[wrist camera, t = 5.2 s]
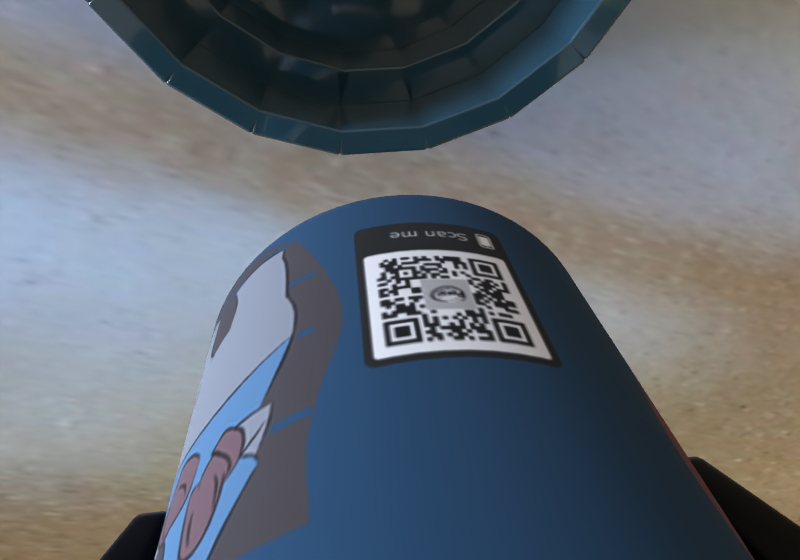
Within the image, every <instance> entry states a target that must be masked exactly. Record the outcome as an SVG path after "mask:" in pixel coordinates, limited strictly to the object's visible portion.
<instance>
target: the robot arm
mask: <svg viewBox="0 0 800 560" xmlns="http://www.w3.org/2000/svg"><path fill="white" fill-rule="evenodd" d="M688 458H689V460H690V461H691V463H692V464H693V466H694V467H695V469H696V471H697V472H698V474H699V475H700V477H701V478H702V480H703V481H704V483H705V484H706V486H707V487H708V489H709V491H710V492H711V494H712V495H713V497H714V498H715V500H716V501H717V503H718V504H719V506H720V507H721V509H722V511H723V512H724V514H725V515H726V517H727V518H728V520H729V521H730V523H731V524H732V526H733V527H734V529H735V531H736V532H737V534H738V535H739V537H740V538H741V540H742V541H743V543H744V544H745V546H746V547H747V549H748V551H749V552H750V554H751V555H752V557H753V558H754V560H800V526H798V525H797V524H795V523H794V522H793V521H791V520H790V519H788V518H787V517H785V516H784V515H782V514H781V513H780V512H778V511H777V510H775V509H774V508H772V507H771V506H769V505H768V504H767V503H765V502H764V501H762V500H761V499H759V498H758V497H756V496H755V495H754V494H752V493H751V492H749V491H748V490H746V489H745V488H744V487H742V486H741V485H739V484H738V483H736V482H735V481H733V480H732V479H731V478H729V477H728V476H726V475H725V474H723V473H722V472H720V471H719V470H718V469H716V468H715V467H713V466H712V465H710V464H709V463H707V462H706V461H705V460H703V459H701V458H699V457H688ZM166 513H167V512H165V511H160V512H151V513H142V514H139V515H138V516H136V517H135V518H134V519H133V520H132V521H131V522H130V524H129V525H128V526H127V527H126V528H125V530H124V531H123V532H122V533H121V535H120V536H119V537H118V538H117V539H116V541H115V542H114V543H113V544H112V545H111V547H110V548H109V549H108V550H107V552H106V553H105V554H104V555H103V556H102V558H101V559H100V560H154V559H155V555H156V551H157V548H158V544H159V540H160V536H161V532H162V528H163V525H164V521H165V517H166Z"/></svg>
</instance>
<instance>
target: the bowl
mask: <svg viewBox="0 0 800 560" xmlns="http://www.w3.org/2000/svg"><path fill="white" fill-rule="evenodd" d="M85 1H86V2H89V3H88V4H89V6H90V7H91V8H92V9H93V10H94V11H95V12H96V13H97V14H98V15H99V16H100V17H101V18H102V20H103V21H104V22H105V23H106V24H107V25H108V26H109V27H110V28H111V29H112V30H113V31H114V32H115V33H116V34H117V35H118V36H119V37H120V38H121V39H122V40H123V41H124V42H125V43H126V44H127V45H128V46H129V47H130V48H131V49H132V50H133V51H134V52H135V53H136V54H137V55H138V57H139V58H140V59H141V60H142V61H143V62H144V63H145V64H146V65H147V66H148V67H149V68H150V69H151V70H152V71H153V72H154V73H155V74H156V75H157V76H158V77H159V78H160V79H161V80H162V81H163V82H167V85H168V86H170V87H172V88H173V89H175V90H177V91H179V92H180V93H182V94H184V95H185V96H187V97H189V98H191V99H192V100H194V101H196V102H197V103H199V104H201V105H203V106H204V107H206V108H208V109H210V110H211V111H213V112H215V113H216V114H218V115H220V116H222V117H223V118H225V119H227V120H228V121H230V122H232V123H234V124H235V125H237V126H239V127H240V128H242V129H244V130H246V131H247V132H252V133H253V134H254V135H259V136H263V137H267V138H271V139H275V140H279V141H283V142H287V143H292V144H296V145H300V146H304V147H308V148H312V149H316V150H321V151H325V152H329V153H333V154H339V153H340V154H342V155H350V154H365V153H381V152H396V151H412V150H425V149H426V148H433V147H435V146H438V145H440V144H443V143H446V142H448V141H451V140H453V139H456V138H459V137H461V136H464V135H467V134H469V133H472V132H474V131H477V130H480V129H482V128H485V127H488V126H490V125H493V124H495V123H498V122H501V121H503V120H506V119H508V118H509V116H510V117H512V116H514V115H515V114H516V113H518V112H519V111H520V110H521V109H523V108H524V107H525V106H527V105H528V104H529V103H531V102H532V101H533V100H535V99H536V98H537V97H538V96H540V95H541V94H542V93H544V92H545V91H546V90H548V89H549V88H550V87H552V86H553V85H554V84H556V83H557V82H558V81H559V80H561V79H562V78H563V77H565V76H566V75H567V74H569V73H570V72H571V71H573V70H574V69H575V68H576V67H578V66H579V65H580V64H582V63H583V62H584V59H586V58H588V56H589V55H590V54H591V52H592V51H593V50H594V48H595V47H596V46H597V44H598V43H599V42H600V40H601V39H602V38H603V37H604V35H605V34H606V33H607V31H608V30H609V29H610V27H611V26H612V25H613V23H614V22H615V21H616V19H617V18H618V17H619V16H620V14H621V13H622V12H623V10H624V9H625V8H626V6H627V5H628V4H629V2H630V1H631V0H85Z"/></svg>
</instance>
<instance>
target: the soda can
mask: <svg viewBox="0 0 800 560" xmlns="http://www.w3.org/2000/svg"><path fill="white" fill-rule="evenodd" d="M154 560H754V558H753V557H752V555H751V554H750V552H749V551H748V549H747V547H746V546H745V544H744V543H743V541H742V540H741V538H740V537H739V535H738V534H737V532H736V531H735V529H734V527H733V526H732V524H731V523H730V521H729V520H728V518H727V517H726V515H725V514H724V512H723V511H722V509H721V507H720V506H719V504H718V503H717V501H716V500H715V498H714V497H713V495H712V494H711V492H710V491H709V489H708V487H707V486H706V484H705V483H704V481H703V480H702V478H701V477H700V475H699V474H698V472H697V471H696V469H695V467H694V466H693V464H692V463H691V461H690V460H689V458H688V457H687V455H686V454H685V452H684V451H683V449H682V447H681V446H680V444H679V443H678V441H677V440H676V438H675V437H674V435H673V434H672V432H671V431H670V429H669V427H668V426H667V424H666V423H665V421H664V420H663V418H662V417H661V415H660V414H659V412H658V411H657V409H656V407H655V406H654V404H653V403H652V401H651V400H650V398H649V397H648V395H647V394H646V392H645V391H644V389H643V387H642V386H641V384H640V383H639V381H638V380H637V378H636V377H635V375H634V374H633V372H632V371H631V369H630V367H629V366H628V364H627V363H626V361H625V360H624V358H623V357H622V355H621V354H620V352H619V351H618V349H617V347H616V346H615V344H614V343H613V341H612V340H611V338H610V337H609V335H608V334H607V332H606V330H605V329H604V327H603V326H602V324H601V323H600V321H599V320H598V318H597V317H596V315H595V314H594V312H593V310H592V309H591V307H590V306H589V304H588V303H587V301H586V300H585V298H584V297H583V295H582V294H581V292H580V290H579V289H578V287H577V286H576V284H575V283H574V281H573V280H572V278H571V277H570V275H569V274H568V272H567V270H566V269H565V267H564V266H563V265H562V264H561V262H560V261H559V260H558V258H557V257H556V256H555V255H554V254H553V253H552V252H551V251H550V249H549V248H548V247H547V246H545V245H544V244H543V243H542V242H541V241H540V240H539V239H538V238H537V237H535V236H534V235H533V234H531V233H530V232H529V231H527V230H526V229H525V228H523V227H521V226H520V225H518V224H517V223H515V222H513V221H512V220H510V219H508V218H506V217H504V216H502V215H500V214H498V213H495V212H493V211H491V210H488V209H486V208H483V207H480V206H477V205H474V204H471V203H468V202H463V201H459V200H455V199H450V198H443V197H437V196H425V195H397V196H385V197H378V198H371V199H366V200H362V201H357V202H353V203H350V204H346V205H343V206H340V207H337V208H334V209H331V210H329V211H326V212H324V213H321V214H319V215H317V216H315V217H313V218H311V219H308V220H307V221H305V222H303V223H301V224H299V225H298V226H296V227H294V228H293V229H291V230H290V231H288V232H287V233H285V234H284V235H282V236H281V237H279V238H278V239H277V240H276V241H274V242H273V243H272V244H271V245H269V246H268V247H267V248H266V249H265V250H264V251H263V252H262V253H261V254H260V255H258V256H257V257H256V258H255V259H254V260H253V262H252V263H251V264H250V265H249V266H248V267H247V268H246V269H245V271H244V272H243V273H242V275H241V276H240V277H239V279H238V280H237V281H236V283H235V285H234V286H233V288H232V289H231V291H230V293H229V294H228V296H227V298H226V300H225V302H224V304H223V306H222V308H221V311H220V313H219V316H218V319H217V322H216V325H215V329H214V332H213V336H212V340H211V344H210V348H209V352H208V355H207V359H206V363H205V367H204V371H203V375H202V378H201V382H200V386H199V390H198V394H197V398H196V401H195V405H194V409H193V413H192V417H191V421H190V425H189V428H188V432H187V436H186V440H185V444H184V448H183V451H182V455H181V459H180V463H179V467H178V471H177V475H176V478H175V482H174V486H173V490H172V494H171V498H170V501H169V505H168V509H167V513H166V517H165V521H164V525H163V528H162V532H161V536H160V540H159V544H158V548H157V551H156V555H155V559H154Z"/></svg>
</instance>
